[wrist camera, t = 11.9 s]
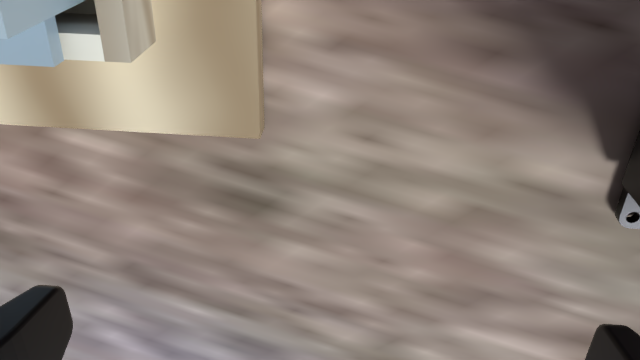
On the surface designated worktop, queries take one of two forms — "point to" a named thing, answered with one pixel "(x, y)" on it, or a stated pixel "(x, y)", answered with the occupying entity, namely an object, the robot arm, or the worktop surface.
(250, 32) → the chassis pocket
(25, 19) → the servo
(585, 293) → the worktop surface
